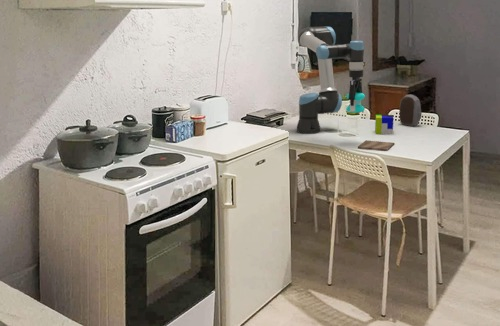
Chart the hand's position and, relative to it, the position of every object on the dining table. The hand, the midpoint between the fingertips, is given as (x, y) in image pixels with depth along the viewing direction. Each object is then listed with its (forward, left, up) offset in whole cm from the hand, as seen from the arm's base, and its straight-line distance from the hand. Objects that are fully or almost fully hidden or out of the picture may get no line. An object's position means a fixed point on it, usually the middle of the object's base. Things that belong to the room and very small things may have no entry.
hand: (355, 110), depth 294 cm
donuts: (0, 0, -1) cm, 1 cm away
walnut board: (+14, -6, -18) cm, 24 cm away
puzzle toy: (+9, +31, -19) cm, 37 cm away
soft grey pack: (+19, +59, -19) cm, 65 cm away
